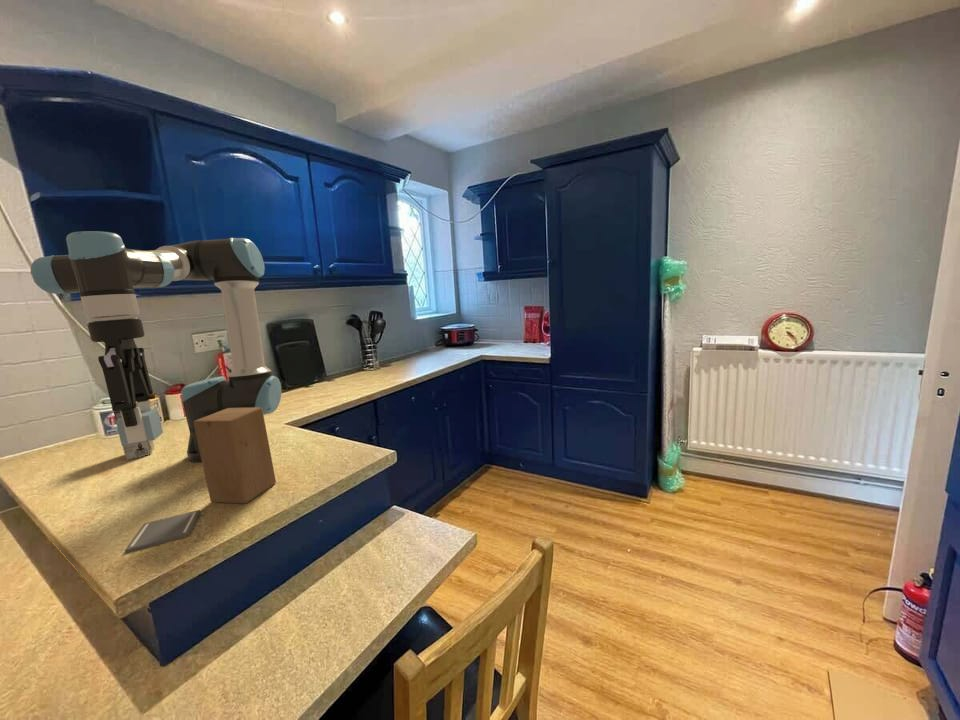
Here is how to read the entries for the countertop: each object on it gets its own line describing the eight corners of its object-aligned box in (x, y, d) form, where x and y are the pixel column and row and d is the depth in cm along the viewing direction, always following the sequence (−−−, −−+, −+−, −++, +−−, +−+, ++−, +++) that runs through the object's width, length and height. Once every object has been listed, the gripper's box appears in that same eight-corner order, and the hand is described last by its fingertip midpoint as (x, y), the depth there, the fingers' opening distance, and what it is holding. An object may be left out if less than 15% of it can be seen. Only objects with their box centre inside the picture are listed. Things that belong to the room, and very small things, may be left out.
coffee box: (130, 452, 130) (118, 406, 127) (155, 446, 134) (144, 401, 131) (125, 461, 123) (112, 411, 120) (151, 454, 126) (140, 407, 123)
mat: (144, 525, 83) (144, 523, 83) (200, 512, 87) (200, 509, 87) (125, 552, 74) (124, 549, 74) (188, 536, 78) (187, 533, 78)
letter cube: (163, 432, 81) (157, 409, 80) (154, 440, 76) (148, 415, 75) (131, 437, 79) (126, 413, 78) (120, 445, 74) (114, 420, 73)
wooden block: (246, 504, 89) (229, 420, 86) (209, 503, 91) (191, 421, 88) (277, 482, 99) (262, 406, 95) (243, 482, 101) (228, 407, 97)
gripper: (110, 319, 80) (137, 427, 84) (60, 323, 64) (97, 457, 68) (155, 315, 83) (179, 420, 87) (119, 318, 66) (150, 447, 71)
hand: (143, 436), depth 77 cm, fingers closed on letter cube, 5 cm apart
